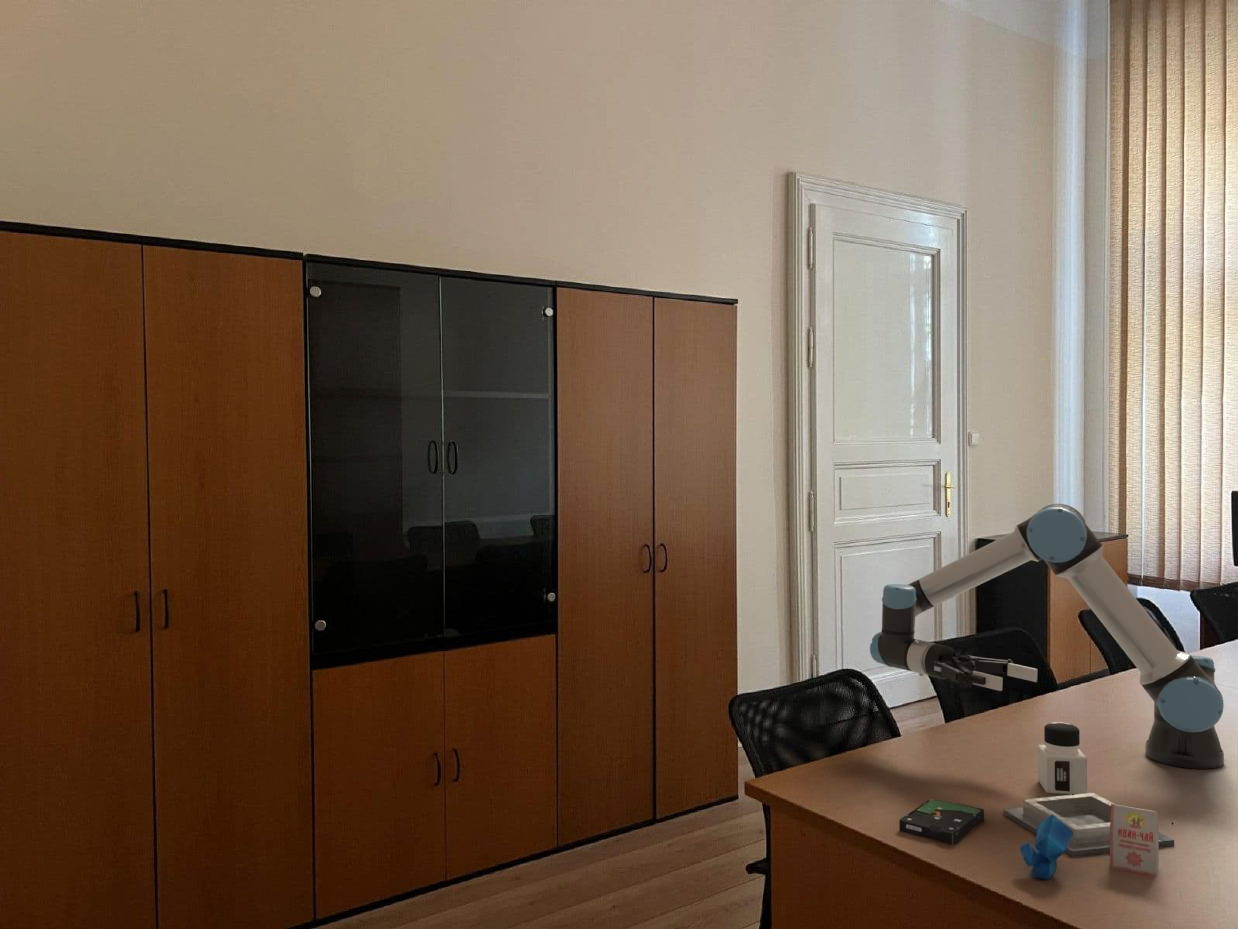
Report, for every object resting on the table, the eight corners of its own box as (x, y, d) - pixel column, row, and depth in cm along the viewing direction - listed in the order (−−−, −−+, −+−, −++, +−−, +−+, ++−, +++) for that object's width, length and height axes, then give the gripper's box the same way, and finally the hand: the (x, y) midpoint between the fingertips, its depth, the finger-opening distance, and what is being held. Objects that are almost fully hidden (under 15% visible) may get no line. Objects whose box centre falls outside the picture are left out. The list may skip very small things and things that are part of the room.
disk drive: (954, 849, 172) (985, 822, 184) (954, 833, 172) (984, 808, 184) (898, 835, 179) (931, 810, 190) (898, 819, 179) (931, 795, 190)
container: (1087, 796, 196) (1087, 731, 196) (1046, 793, 197) (1045, 729, 197) (1077, 783, 203) (1077, 720, 203) (1037, 781, 205) (1037, 718, 205)
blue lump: (1013, 839, 158) (1027, 800, 167) (1016, 887, 160) (1030, 845, 169) (1063, 849, 154) (1075, 808, 163) (1066, 898, 155) (1077, 854, 165)
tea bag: (1113, 859, 166) (1112, 800, 166) (1158, 868, 162) (1158, 808, 162) (1110, 867, 163) (1109, 807, 163) (1156, 876, 159) (1155, 815, 159)
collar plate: (1095, 805, 191) (1095, 787, 191) (1174, 845, 171) (1174, 825, 171) (1003, 814, 186) (1003, 796, 186) (1072, 857, 167) (1072, 836, 167)
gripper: (963, 669, 232) (1049, 689, 215) (898, 683, 217) (985, 706, 200) (964, 637, 232) (1050, 655, 215) (899, 649, 217) (986, 669, 200)
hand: (1019, 680), depth 208 cm, fingers open, 13 cm apart
